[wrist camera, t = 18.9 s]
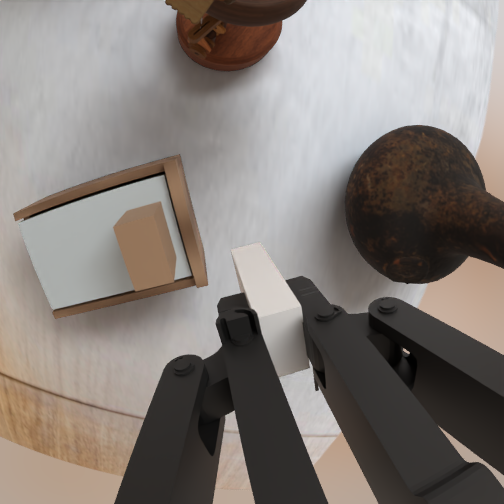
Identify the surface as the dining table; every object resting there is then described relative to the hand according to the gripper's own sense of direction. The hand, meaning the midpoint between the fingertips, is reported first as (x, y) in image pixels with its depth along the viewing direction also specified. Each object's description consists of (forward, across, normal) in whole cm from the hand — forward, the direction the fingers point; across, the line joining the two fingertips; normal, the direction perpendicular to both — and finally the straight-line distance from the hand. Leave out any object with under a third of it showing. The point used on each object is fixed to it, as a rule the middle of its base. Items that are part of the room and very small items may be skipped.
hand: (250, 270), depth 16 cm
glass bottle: (+20, +21, -4) cm, 29 cm away
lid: (+12, -12, 0) cm, 17 cm away
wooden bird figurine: (+20, +5, +19) cm, 28 cm away
